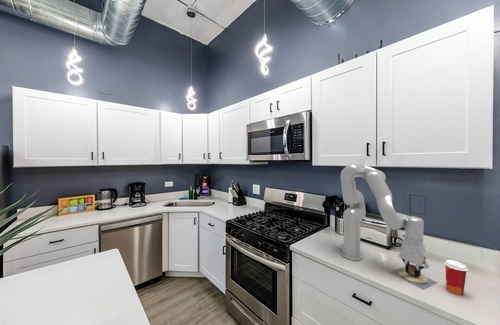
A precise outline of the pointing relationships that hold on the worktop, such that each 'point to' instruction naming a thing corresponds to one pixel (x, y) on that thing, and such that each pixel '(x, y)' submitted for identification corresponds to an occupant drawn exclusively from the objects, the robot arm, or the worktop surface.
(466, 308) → the worktop surface
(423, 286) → the grey mat
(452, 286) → the paper cup
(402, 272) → the oak lid
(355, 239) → the robot arm
